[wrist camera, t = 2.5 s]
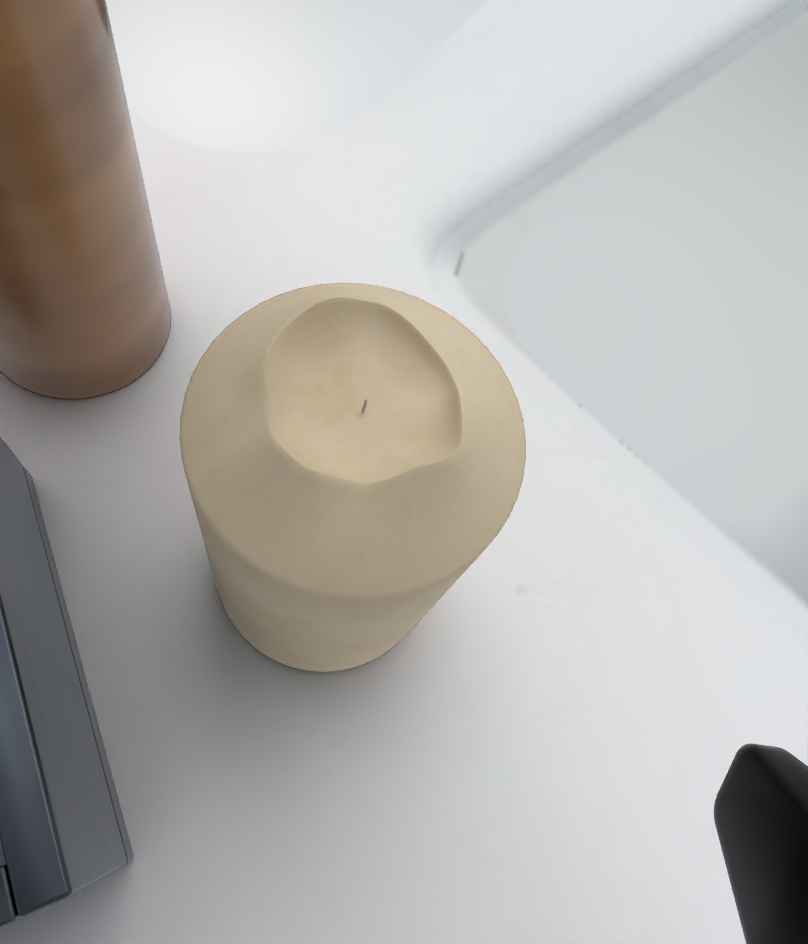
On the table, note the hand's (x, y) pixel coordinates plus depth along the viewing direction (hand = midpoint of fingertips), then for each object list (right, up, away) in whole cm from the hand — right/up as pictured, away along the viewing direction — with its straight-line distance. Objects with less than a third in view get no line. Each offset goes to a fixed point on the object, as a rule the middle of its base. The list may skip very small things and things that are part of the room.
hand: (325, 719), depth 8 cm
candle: (-1, 0, +12) cm, 12 cm away
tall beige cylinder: (-8, +7, +14) cm, 17 cm away
